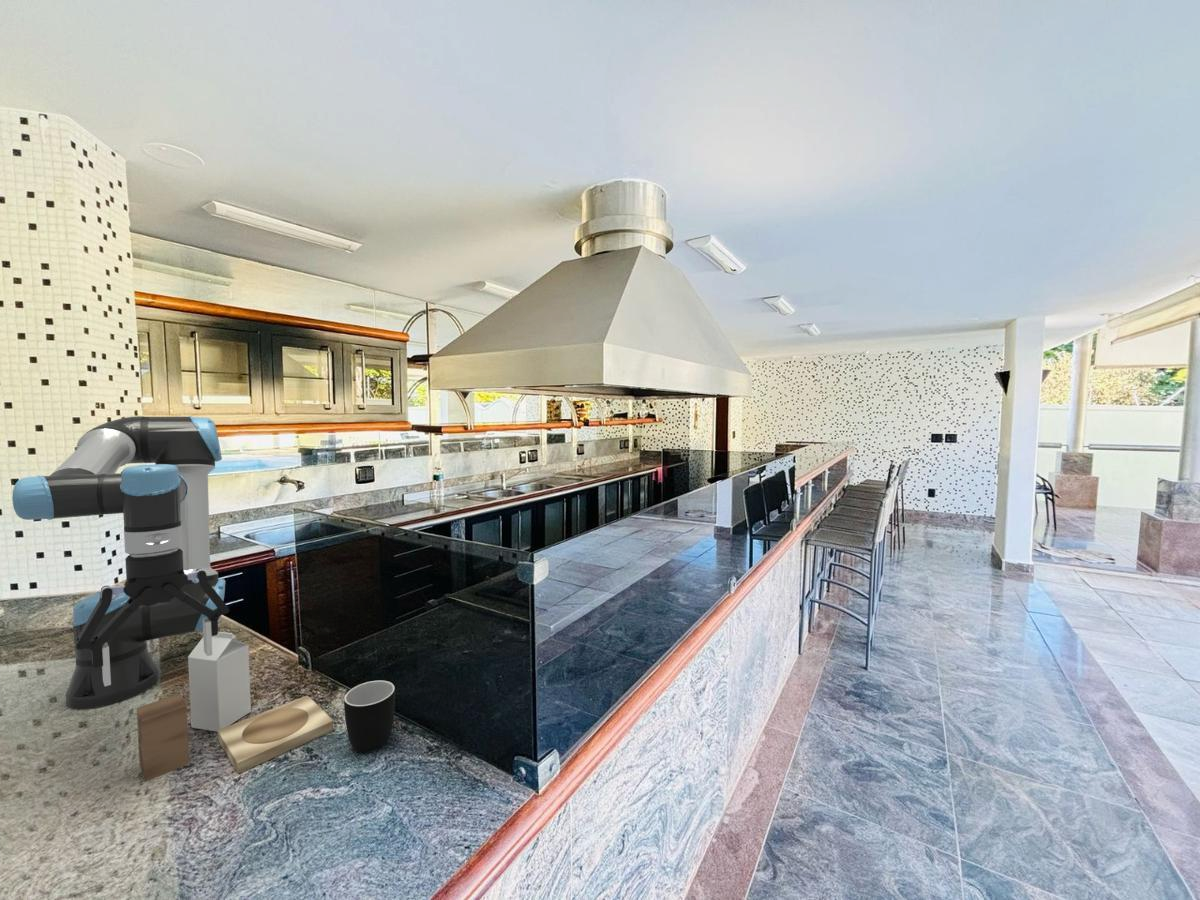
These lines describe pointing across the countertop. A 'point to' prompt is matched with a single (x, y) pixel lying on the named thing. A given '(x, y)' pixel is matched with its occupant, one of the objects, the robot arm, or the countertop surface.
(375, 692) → the mug
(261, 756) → the board
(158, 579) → the robot arm
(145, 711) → the block
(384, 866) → the countertop surface
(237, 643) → the milk carton
